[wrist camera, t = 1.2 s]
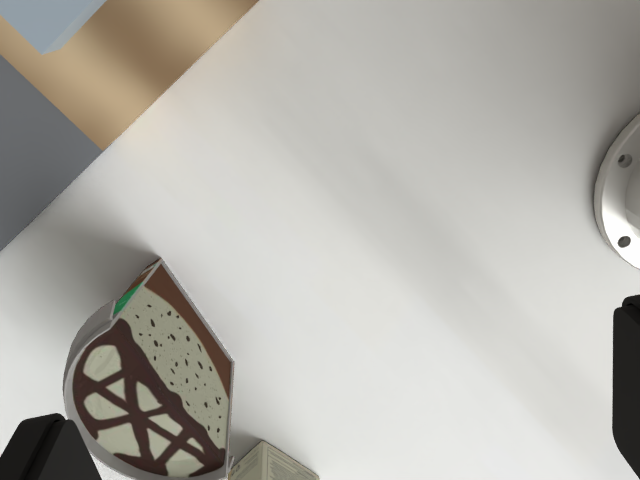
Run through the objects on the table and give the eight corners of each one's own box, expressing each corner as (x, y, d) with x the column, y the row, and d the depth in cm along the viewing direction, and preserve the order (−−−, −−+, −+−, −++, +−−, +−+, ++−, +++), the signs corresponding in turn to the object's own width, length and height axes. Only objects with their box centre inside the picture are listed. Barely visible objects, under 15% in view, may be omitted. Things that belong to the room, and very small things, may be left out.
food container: (69, 279, 40) (2, 369, 31) (148, 239, 39) (102, 319, 30) (172, 410, 44) (140, 523, 35) (245, 377, 43) (231, 484, 34)
